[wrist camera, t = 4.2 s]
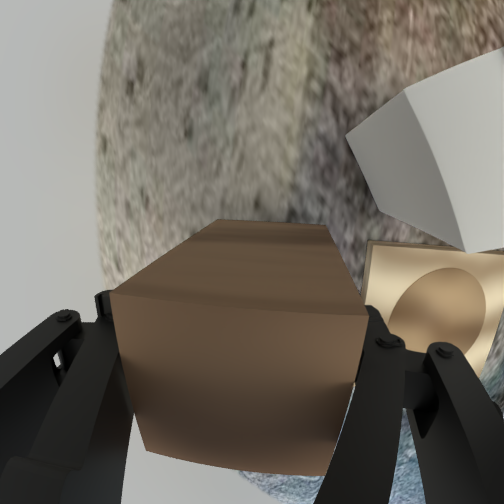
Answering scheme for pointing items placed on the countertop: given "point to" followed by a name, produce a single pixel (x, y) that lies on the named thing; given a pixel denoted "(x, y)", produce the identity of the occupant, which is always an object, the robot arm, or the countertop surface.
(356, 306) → the block
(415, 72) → the countertop surface
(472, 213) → the milk carton
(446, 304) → the board
